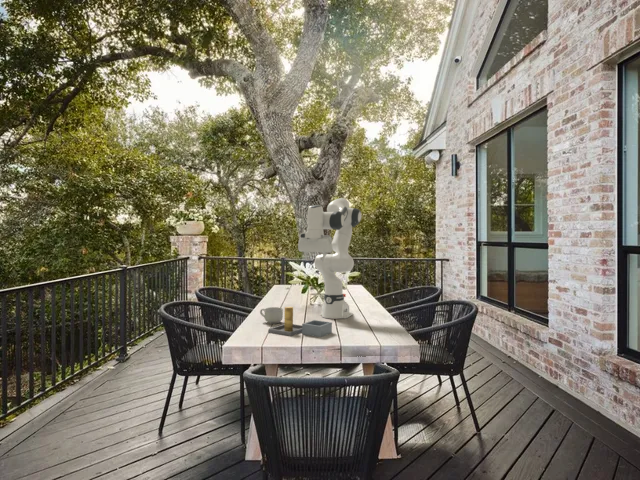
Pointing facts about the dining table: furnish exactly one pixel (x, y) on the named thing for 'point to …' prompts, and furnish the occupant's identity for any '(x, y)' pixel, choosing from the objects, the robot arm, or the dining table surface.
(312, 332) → the grey open box
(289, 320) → the peg
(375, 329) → the dining table surface
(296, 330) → the tray
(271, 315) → the teacup
